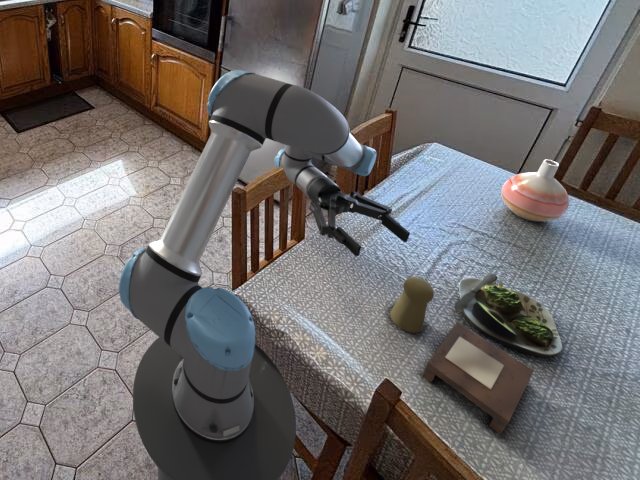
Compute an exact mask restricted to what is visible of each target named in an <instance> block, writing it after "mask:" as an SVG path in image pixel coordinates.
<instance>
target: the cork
mask: <svg viewBox="0 0 640 480" xmlns="http://www.w3.org/2000/svg"><path fill="white" fill-rule="evenodd" d="M402 287H403V292H402V293H401V295H400V297H399V298H398V299H397V301H396V302H395V304H394V305H393V307H392V309H391V310H390V311H389V312H390V314H389V315H390V317H391V318H390V319H391V321H392V322H393V323H394V324H395V325H396V326H397V327H398V328H400V329H401V330H403V331H405V332H408V333H410V334H418V333H421V332H422V331H423V329H424V323H425V318H426V314H427V313H426V312H427V307H428V304H429V303H431V302H432V301H433V299H434V296H435V292H434V291H435V290H434V289H433V287H432V285H431V284H430V283H429V282H428V281H426V280H425V279H423V278H421V277H417V276H411V277H407V279H405V280H404V283H403V285H402Z"/></svg>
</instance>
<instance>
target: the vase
mask: <svg viewBox="0 0 640 480" xmlns="http://www.w3.org/2000/svg"><path fill="white" fill-rule="evenodd" d="M559 166H560V164H559V163H558V162H556V161H554V160H552V159H543V161H542V163H541V165H540V166H539V168H538V170H537V171H532V172H531V171H528V172H521V173H518V174H515V175H512V176H511V177H509V178H508V179H507V180H506V181H505V182H503V185H502V186H501V189H500V196H501V199H502V201H503V203H504V204H505V206H506V207H507V208H508V209H509V210H510V211H511V212H512V213H513V215H516V216H518V217H519V218H521V219H524V220H527V221H530V222H551V221H555V220H558V219H560V218H562V217H563V216H564V215H565V214H566V213H567V211H568V209H569V207H570V197H569V194H568V192H567V189H566V188H565V187H564V185H562V183H560V181H558V180H557V179H556V178H555V175H556V173H557V171H558V169H559Z"/></svg>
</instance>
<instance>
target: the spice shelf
mask: <svg viewBox="0 0 640 480" xmlns="http://www.w3.org/2000/svg"><path fill="white" fill-rule="evenodd" d="M534 371H535V370H534V369H532V368H531V367H529V366H528V365H526V364H524V363H523V362H521V361H520V360H518V359H517V358H515V357H514V356H512V355H510V354H509V353H507V352H506V351H505V350H502V349H501V348H499V346H497V345H495V344H493V343H492V342H490V341H489V340H487V339H486V338H484V337H482V336H481V335H480V334H477V333H476V332H474V331H473V330H471V328H470V329H469V328H468V327H467V326H465V325H464V324H462V323H460V322H459V321H456V322H455V324H454V325H453V327H452V329H451V330H450V331H449V333H448V334H447V335H446V336H445V338H444V339H443V341H442V342H441V344H440V345H439V347H438V348H437V349H436V350H435V352H434V354H433V355H432V356H431V358H430V359H429V360H428V362H427V364H426V366H425V368H424V370H423V372H422V374H421V376H422V377H423V378H425V379H426V380H427V381H429V382H430V383H432V382H433V381H434V379H435V378H436V377H438V378H439V379H441V380H442V381H444V382H445V383H446V384H447V385H448V386H451V388H453V389H455V390H456V391H457V392H458V393H460V394H461V395H462V396H464V397H465V398H466V399H468V400H469V401H471V402H472V404H474V405H476V406H477V407H478V408H480V409H481V410H482V411H484V412H485V413H486V414H488V415H489V416H491V417H492V419H491V421H490V423H489V425H488V427H489V428H490V429H491V430H493V431H495V432H496V433H497V434H498V435H501V434H502V433H503V431H504V430H505V429H506V427H507V426H508V424H509V422H510V421H511V419H512V416H513V415H514V414H515V413H514V412H515V411H516V408H517V406H518V405H519V402H520V400H521V398H522V396H523V395H524V393H525V390H526V389H527V386H528V384H529V382H530V379H531V378H532V376H533V375H534Z"/></svg>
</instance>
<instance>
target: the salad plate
mask: <svg viewBox="0 0 640 480" xmlns="http://www.w3.org/2000/svg"><path fill="white" fill-rule="evenodd" d="M497 280H498V276H497V274H495V273H493V272H488V273H487V274H486V275H485V276H484V277H483V278H477V277H464V278H462V279H460V280H459V283H458V293H459V299H458V300H456V302H455V303H454V305H453V309H454V311H455V313H459V315H461V316H462V317H463V318H465V319H466V321H467V322H468V323H469V324H470V325H471V327H473V328H474V329H475V330H476V331H477V332H479V334H482V335H483V336H485V337H486V338H488V339H489V340H492V341H494V342H497V344H498V343H499V344H500V345H502V346H506V347H507V348H510V349H512V350H515V351H517V352H519V353H522V354H526V355H530V356H534V357H539V358H540V357H541V358H544V359H545V358H554V357H556V356H558V355H559V354H560V353H561V352H562V351H563V348H564V347H563V342H562V340H561V336H560V334H559V331H558V329H557V326H556V322H555V320H554V318H553V316H552V314H551V312H550V311H549V310H548V309H547V308H546V307H545V305H543V304H542V303H541V302H539V301H538V300H536V299H535V298H533V297H531V296H530V295H528V294H525V293H523V292H520V291H517V290H513V289H512V288H507V287H504V286H503V285H504V284H503V283H497Z"/></svg>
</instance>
